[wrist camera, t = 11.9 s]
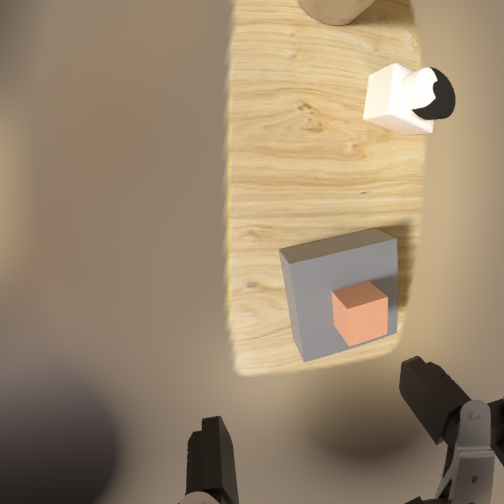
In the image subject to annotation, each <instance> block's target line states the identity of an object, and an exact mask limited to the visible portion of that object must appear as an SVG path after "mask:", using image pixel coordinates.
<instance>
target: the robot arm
mask: <svg viewBox="0 0 504 504" xmlns="http://www.w3.org/2000/svg"><path fill="white" fill-rule="evenodd" d="M375 1H376V0H298V2H299V4H300V6H301V8H302V9H303V10H304V11H305V12H306V13H307V14H308V15H310V16H311V17H312V18H314V19H316V20H317V21H320V22H322V23H325V24H329V25H335V26H339V25H346V24H348V23H350V22H352V21H353V20H354V19H355V18H356V17H358V16H359V15H360V14H361V13H362V12H363V11H364V10H365V9H367V8H368V7H369V6H370V5H371V4H372V3H373V2H375ZM399 389H400V393H401V395H402V397H403V399H404V400H405V401H406V403H407V404H408V406H409V407H410V408H411V410H412V411H413V412H414V414H415V415H416V417H417V418H418V419H419V421H420V422H421V424H422V425H423V426H424V428H425V429H426V431H427V432H428V433H429V435H430V436H431V438H432V439H433V441H434V442H435V444H436V445H438V444H439V443H441V442H443V441H445V442H446V444H447V446H446V451H445V457H444V463H443V468H442V473H441V479H440V482H439V486H438V488H437V491H436V493H435V496H434V499H428V500H423V501H422V500H421V498H420V496H419V497H417V498H415V499H413V500H411V501H409V502H407V503H405V504H490V499H491V492H492V483H493V473H494V459H495V454H496V456H497V457H498V459H499V460H500V462H501V463H502V465H503V466H504V398H503V399H500V400H497V401H494V402H491V403H487V404H486V403H485V402H483V401H481V400H471V399H470V398H469V397H468V396H467V394H466V393H465V392H464V391H463V390H462V389H461V388H460V387H459V386H458V385H457V384H456V383H455V382H454V381H453V380H451V377H450V376H449V375H447V374H446V372H445V371H444V370H443V369H442V368H441V367H440V366H438V365H436V364H434V363H432V362H429V363H425V362H424V361H423V360H422V359H421V358H420V357H419V356H415V357H413V358H411V359H408V360H406V361H404V362H402V365H401V374H400V383H399ZM490 447H491V448H492V450H491V449H490ZM187 461H188V462H187V479H186V480H187V481H186V494H185V496H184V497H183V498H182V499H181V501H180V502H179V503H178V504H239V500H238V490H237V481H236V472H235V462H234V452H233V445H232V440H231V437H230V435H229V433H228V431H227V428H226V426H225V424H224V422H223V420H222V418H221V416H215V417H209V418H203V419H202V431H196V432H193V433H192V435H191V437H190V439H189V441H188V454H187Z"/></svg>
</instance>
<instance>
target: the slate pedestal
mask: <svg viewBox="0 0 504 504" xmlns="http://www.w3.org/2000/svg"><path fill="white" fill-rule="evenodd" d="M279 253H280V259H281V264H282V270H283V276H284V282H285V288H286V294H287V300H288V306H289V312H290V319H291V325H292V331H293V338H294V341H295V343H296V345H297V348H298V350H299V352H300V354H301V357H302V359H303V361H304V362H307V361H311V360H314V359H318V358H321V357H325V356H328V355H332V354H335V353H338V352H342V351H345V350H348V349H351V348H354V347H357V346H360V345H363V344H366V343H369V342H372V341H375V340H378V339H381V338H384V337H387V336H389V335H392V334H395V333H397V315H398V253H397V238H395V237H393V236H391V235H389V234H386V233H384V232H382V231H380V230H378V229H375V228H373V229H369V230H364V231H360V232H355V233H351V234H346V235H342V236H337V237H333V238H328V239H324V240H319V241H315V242H311V243H306V244H302V245H297V246H293V247H288V248H284V249H279ZM365 281H369V282H370V283H372V284H373V285H374V286H375V287H377V288H378V289H379V290H380V291H381V292H383V293H384V294H385V295H386V296H387V297H388V324H387V334H386V335H383V336H380V337H377V338H374V339H371V340H368V341H365V342H362V343H359V344H356V345H353V346H350V347H349V346H348V344H347V343H346V342H345V340H344V339H343V337H342V336H341V334H340V333H339V332H338V330H337V329H336V327H335V326H334V315H333V303H332V293H331V291H333V290H336V289H340V288H344V287H347V286H351V285H355V284H358V283H362V282H365Z"/></svg>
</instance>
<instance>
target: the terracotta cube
mask: <svg viewBox="0 0 504 504" xmlns="http://www.w3.org/2000/svg"><path fill="white" fill-rule="evenodd" d="M331 293H332V303H333V315H334V326H335V327H336V329H337V330H338V332H339V333H340V334H341V336H342V337H343V339H344V340H345V342H346V343H347V344H348V346H349V347H350V346H353V345H356V344H359V343H362V342H365V341H368V340H371V339H374V338H377V337H380V336H383V335H386V334H387V324H388V297H387V296H386V295H385V294H384V293H383V292H381V291H380V290H379V289H378V288H377V287H375V286H374V285H373V284H372V283H370V282H369V281H365V282H362V283H358V284H355V285H351V286H347V287H344V288H340V289H336V290H333V291H331Z"/></svg>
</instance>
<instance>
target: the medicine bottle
mask: <svg viewBox="0 0 504 504" xmlns="http://www.w3.org/2000/svg"><path fill="white" fill-rule="evenodd" d="M454 107H455V93H454V90H453V87H452V85H451V83H450V81H449V80H448V79H447V77H446V76H445V75H444V74H443V73H441V72H440V71H439V70H437V69H435V68H432V67H426V68H423V69H420V70H418V71H415V72H414V71H412V70H410V69H408V68H406V67H404V66H402V65H400V64H398V63H394V64H391V65H389V66H387V67H385V68H383V69H381V70H379V71H377V72H375V73H373V74H371V75H370V76H369V82H368V89H367V96H366V102H365V108H364V114H363V119H364V120H365V121H368V122H371V123H373V124H376V125H379V126H381V127H384V128H386V129H389V130H391V131H394V132H396V133H398V134H401V135H416V134H429V133H433V129H434V122H435V120H436V119H444V118H447V117H449V116H450V115H451V114H452V112H453V110H454Z"/></svg>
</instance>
